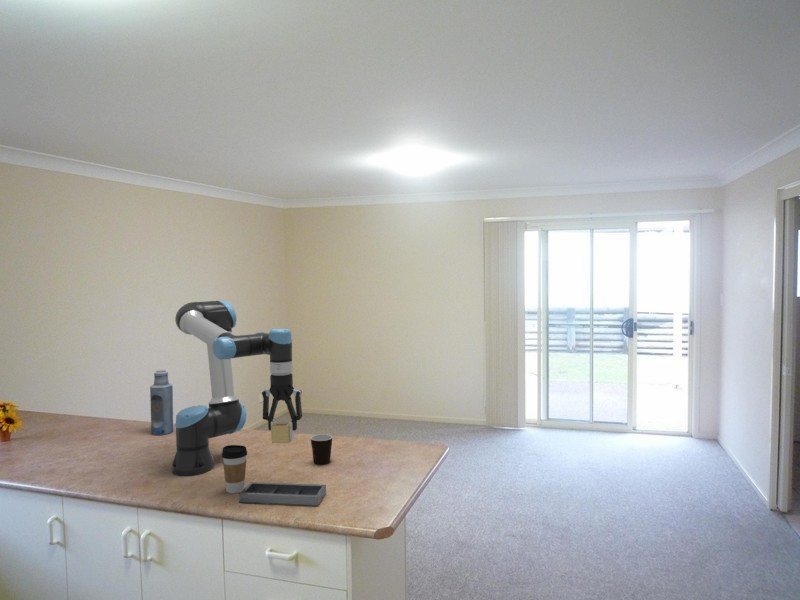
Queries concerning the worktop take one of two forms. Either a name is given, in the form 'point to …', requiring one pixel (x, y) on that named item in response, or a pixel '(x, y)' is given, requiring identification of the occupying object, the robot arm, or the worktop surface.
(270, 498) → the grey divided tray
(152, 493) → the worktop surface
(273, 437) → the recessed panel cube
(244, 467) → the coffee cup
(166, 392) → the bottle
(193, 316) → the robot arm
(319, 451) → the coffee mug
